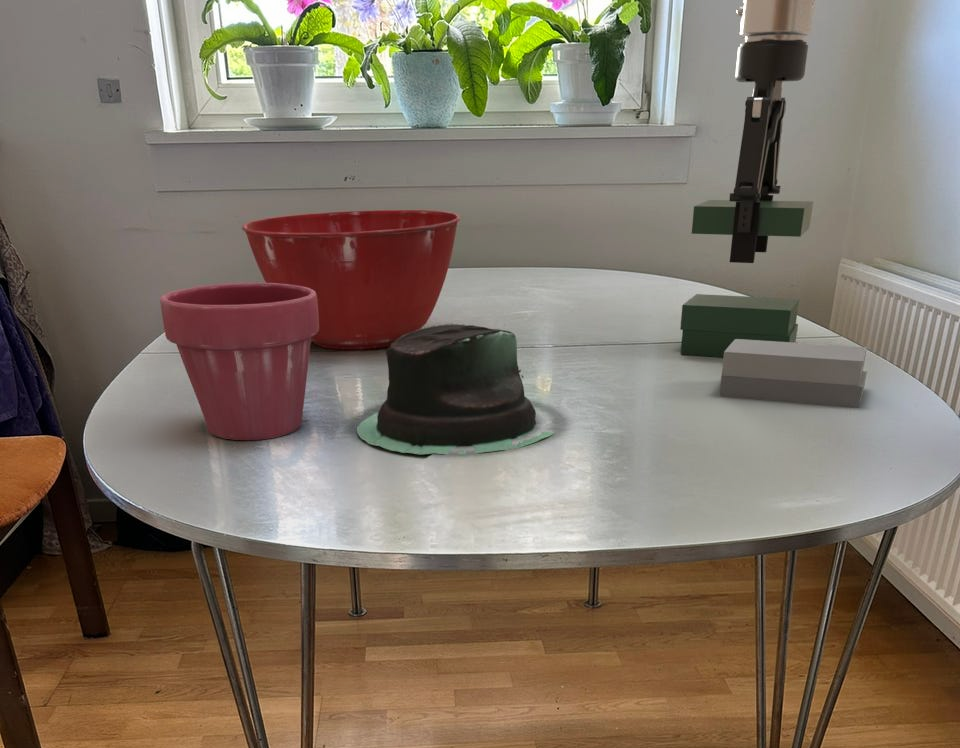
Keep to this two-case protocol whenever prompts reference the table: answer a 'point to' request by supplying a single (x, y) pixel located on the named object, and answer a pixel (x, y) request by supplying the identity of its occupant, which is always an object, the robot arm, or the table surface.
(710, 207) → the green book
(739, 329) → the green pile
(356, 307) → the mixing bowl
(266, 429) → the flower pot
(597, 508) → the table surface
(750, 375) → the grey pile
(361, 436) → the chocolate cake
